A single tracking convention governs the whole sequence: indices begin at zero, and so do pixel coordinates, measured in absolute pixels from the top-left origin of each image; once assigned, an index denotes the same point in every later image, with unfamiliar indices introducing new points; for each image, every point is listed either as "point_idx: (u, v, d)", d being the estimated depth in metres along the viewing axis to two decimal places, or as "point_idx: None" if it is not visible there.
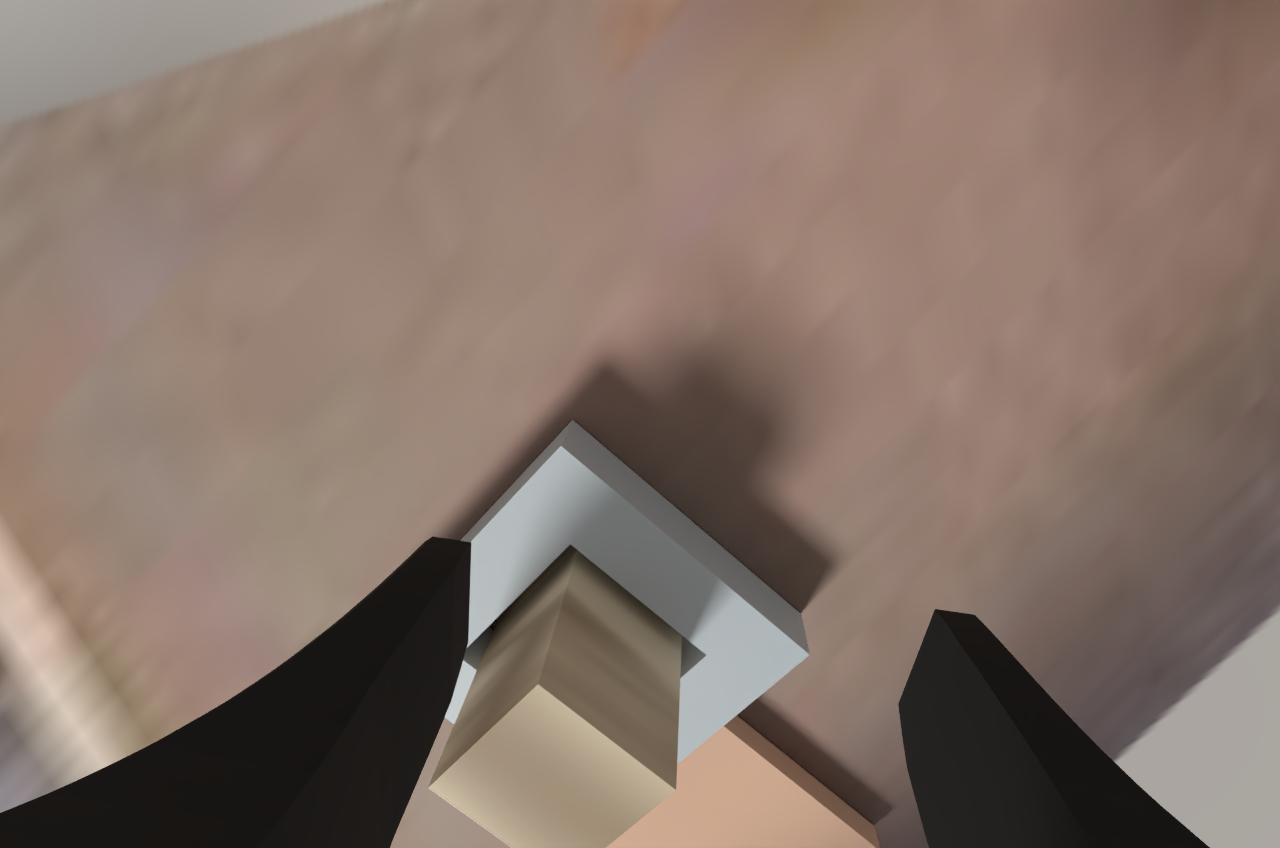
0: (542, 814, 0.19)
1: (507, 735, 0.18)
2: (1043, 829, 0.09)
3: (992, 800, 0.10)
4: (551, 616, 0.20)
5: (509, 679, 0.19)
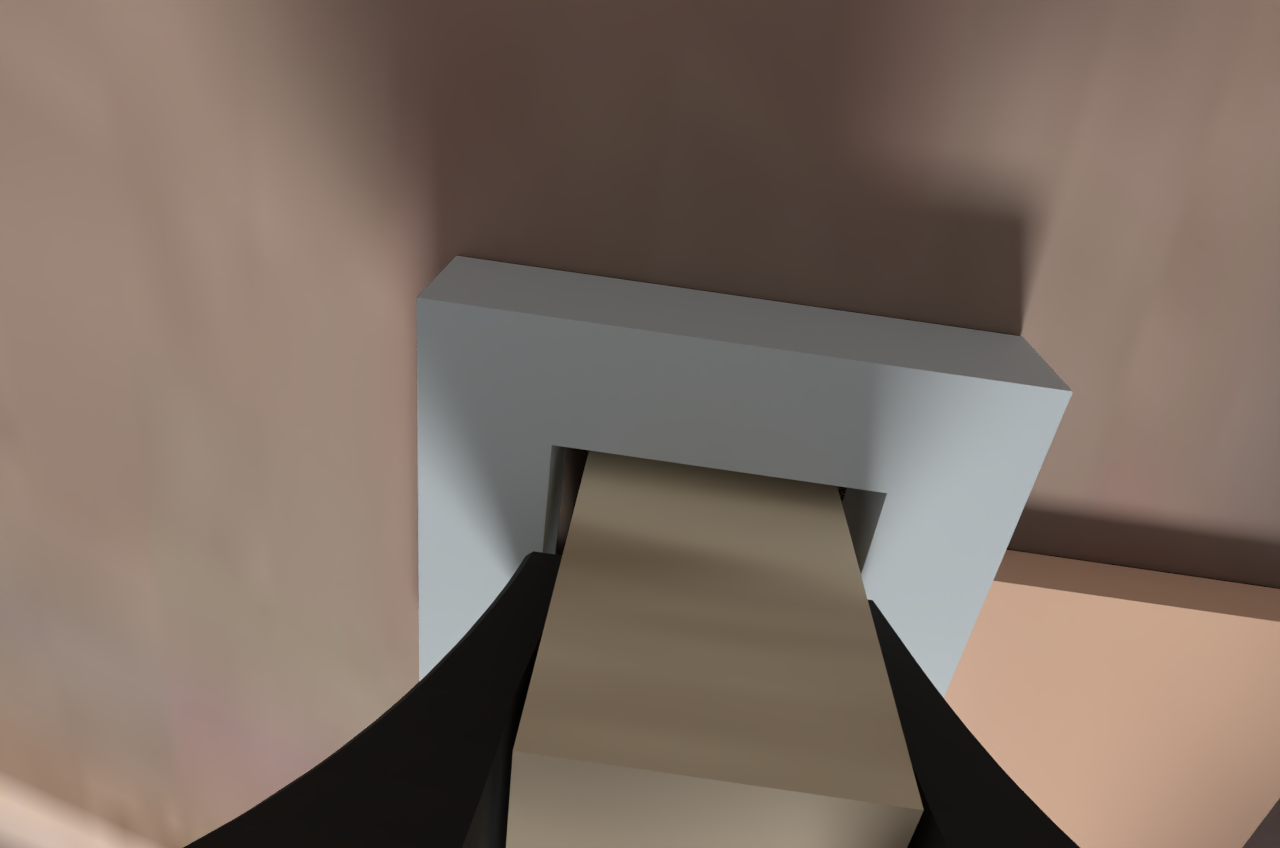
0: None
1: None
2: None
3: None
4: None
5: None
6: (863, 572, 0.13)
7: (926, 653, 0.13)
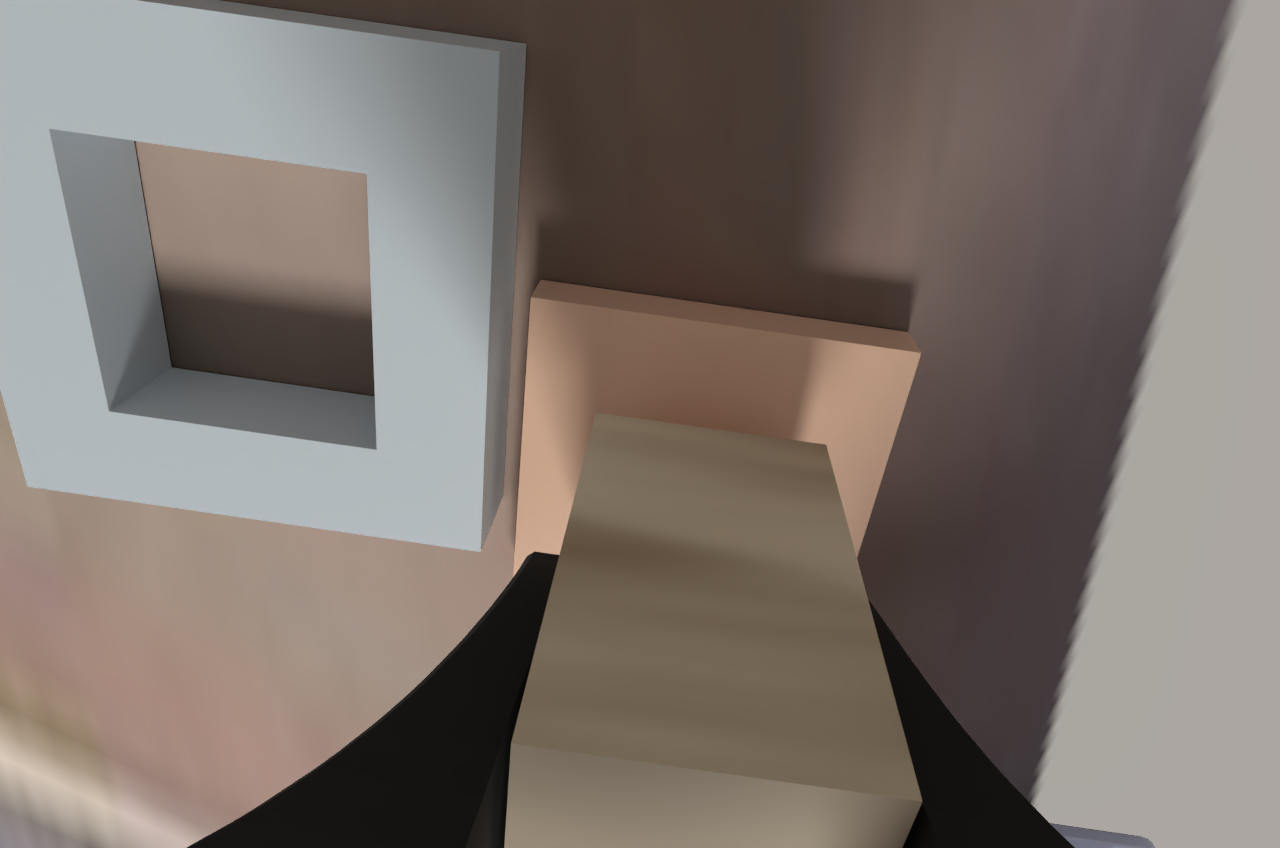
0: None
1: None
2: None
3: None
4: None
5: None
6: (371, 265, 0.13)
7: (455, 358, 0.14)
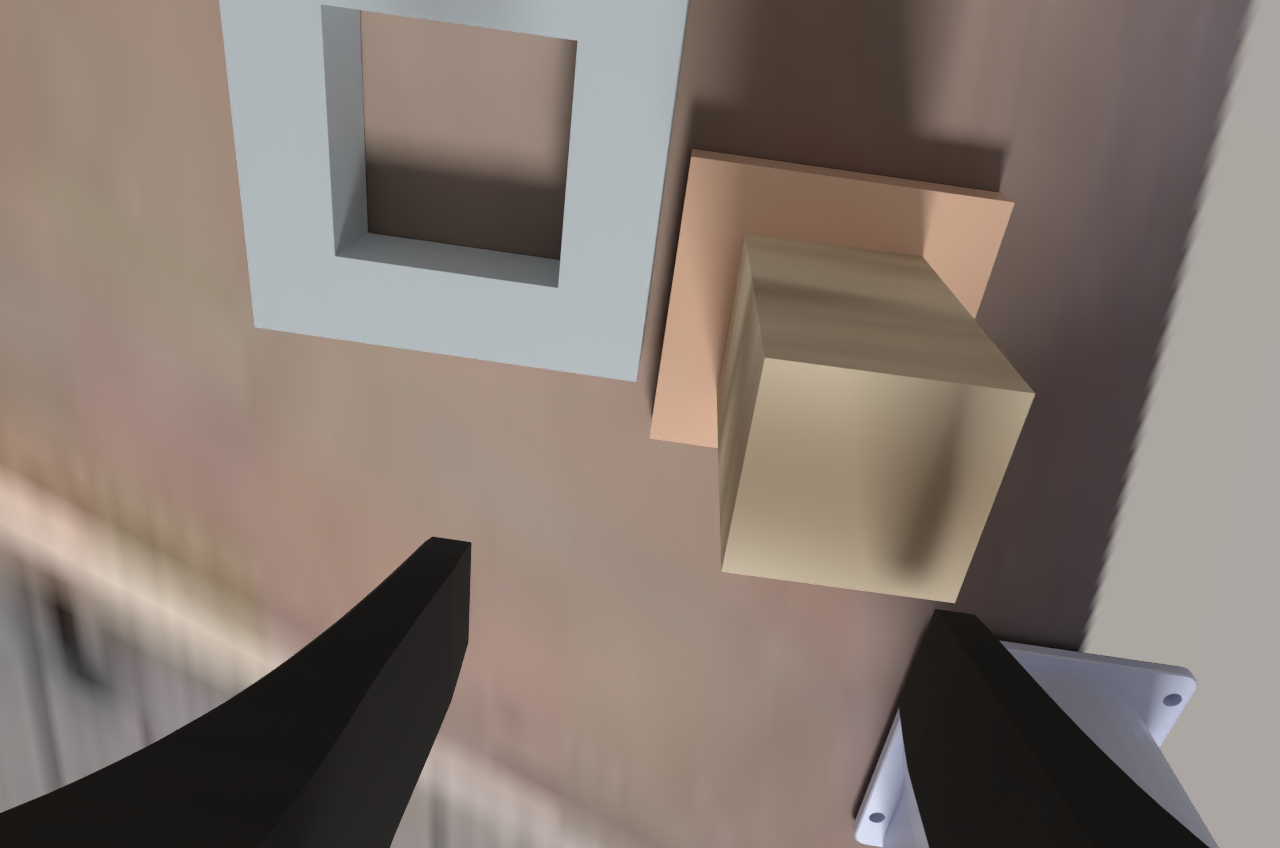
0: (876, 527, 0.13)
1: (770, 450, 0.13)
2: (1043, 829, 0.09)
3: (992, 800, 0.10)
4: (750, 311, 0.15)
5: (742, 402, 0.14)
6: (572, 121, 0.16)
7: (633, 203, 0.17)
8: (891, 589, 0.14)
